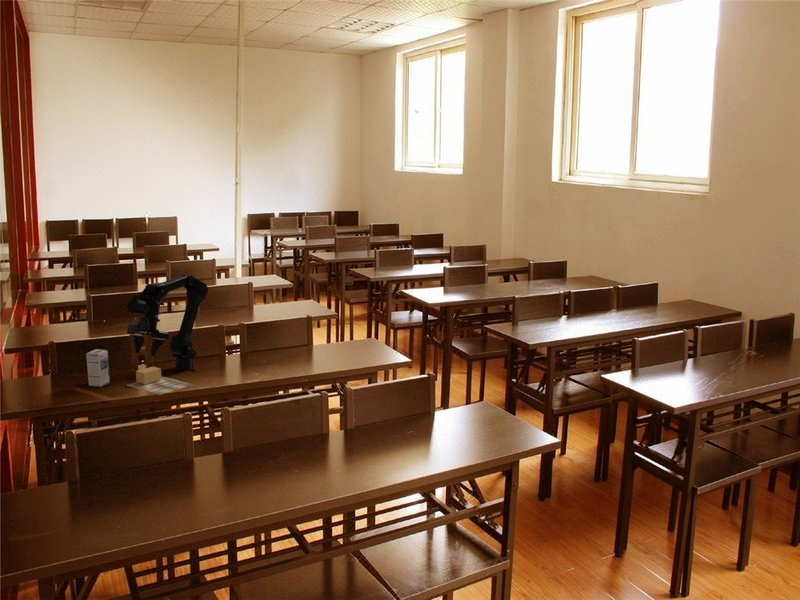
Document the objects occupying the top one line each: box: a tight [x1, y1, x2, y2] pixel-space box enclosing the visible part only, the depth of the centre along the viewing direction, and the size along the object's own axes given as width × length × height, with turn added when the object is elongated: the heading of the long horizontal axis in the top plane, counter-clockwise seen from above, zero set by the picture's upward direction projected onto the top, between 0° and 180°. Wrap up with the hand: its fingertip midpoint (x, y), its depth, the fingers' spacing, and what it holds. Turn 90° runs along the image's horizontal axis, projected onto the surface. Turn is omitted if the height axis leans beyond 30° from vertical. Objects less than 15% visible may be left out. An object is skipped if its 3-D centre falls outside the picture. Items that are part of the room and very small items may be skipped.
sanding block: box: [135, 366, 162, 385], centre depth 285 cm, size 8×5×5 cm, turn 147°
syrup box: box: [85, 349, 111, 387], centre depth 280 cm, size 6×6×14 cm
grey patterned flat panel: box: [126, 375, 194, 396], centre depth 282 cm, size 16×20×1 cm
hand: (144, 354), depth 282 cm, fingers open, 9 cm apart
